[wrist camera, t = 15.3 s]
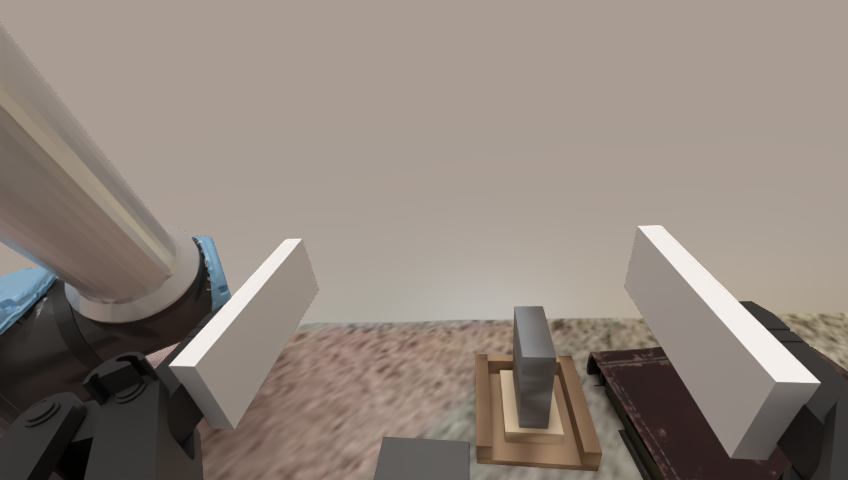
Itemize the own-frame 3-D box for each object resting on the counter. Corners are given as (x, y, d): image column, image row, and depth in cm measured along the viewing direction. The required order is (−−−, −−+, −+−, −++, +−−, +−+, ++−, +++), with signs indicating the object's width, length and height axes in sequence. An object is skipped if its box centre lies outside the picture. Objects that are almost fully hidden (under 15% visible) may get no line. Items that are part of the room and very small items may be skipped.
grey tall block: (505, 442, 38) (506, 361, 32) (499, 380, 45) (500, 303, 38) (562, 445, 37) (575, 362, 31) (547, 381, 44) (556, 303, 38)
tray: (477, 462, 37) (476, 445, 36) (475, 371, 47) (475, 354, 46) (597, 470, 35) (602, 452, 34) (568, 373, 46) (571, 356, 44)
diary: (584, 372, 46) (588, 345, 44) (774, 355, 46) (789, 326, 43) (676, 546, 30) (691, 519, 28) (975, 524, 29) (1017, 494, 27)
